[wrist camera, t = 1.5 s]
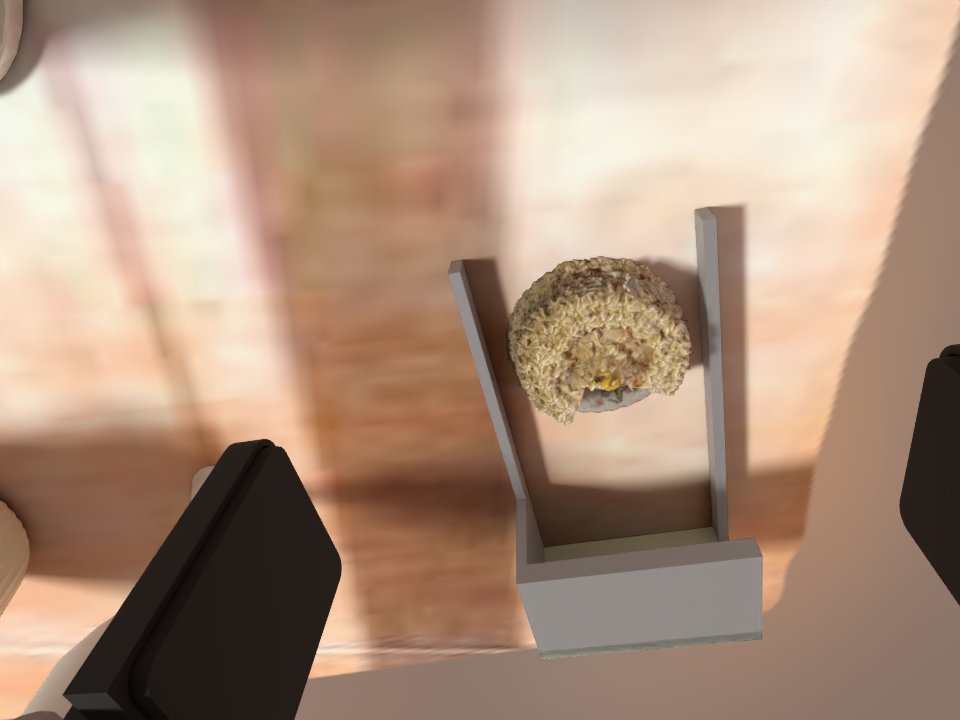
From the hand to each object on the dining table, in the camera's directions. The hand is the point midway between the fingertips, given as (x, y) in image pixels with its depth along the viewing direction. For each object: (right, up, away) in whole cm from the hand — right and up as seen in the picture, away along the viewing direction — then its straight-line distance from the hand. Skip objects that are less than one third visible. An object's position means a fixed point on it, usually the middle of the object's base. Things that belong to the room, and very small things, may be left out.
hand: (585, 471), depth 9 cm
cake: (+5, +3, +24) cm, 24 cm away
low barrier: (+6, -2, +26) cm, 27 cm away
